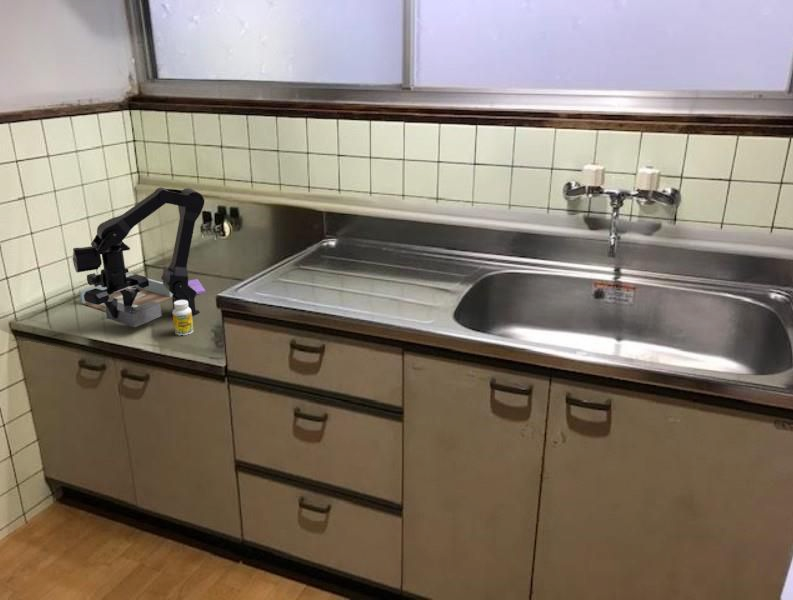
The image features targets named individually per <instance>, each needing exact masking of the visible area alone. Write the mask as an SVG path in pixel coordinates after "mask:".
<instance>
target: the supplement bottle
mask: <svg viewBox="0 0 793 600" xmlns="http://www.w3.org/2000/svg"><path fill="white" fill-rule="evenodd" d="M174 308H175V309H173V308H172V312H171V313H173V315H172V320H173V327H174V330H173V331H174V334H175V335H177V336H181V335H183V336H189V335H191V334H193V332H194V329H195V328H194V323H193V320H194V319H193V316H192V311H191V308H189V307H188V301H187V300H178V301H175V302H174ZM188 334H189V335H188Z"/></svg>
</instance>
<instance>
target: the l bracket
mask: <svg viewBox="0 0 793 600" xmlns="http://www.w3.org/2000/svg"><path fill="white" fill-rule="evenodd" d="M105 308H106V312H105V313H106V320H107V319H108V320H111V321H114V322H117V323H120V324H124V325H127V326H130V327H133V328H137V327H139V326H142V325H144V324H146V323H149V322H152V321H153V320H155V319H157V318H160V317H162V316H163V315H162V307H161V302H159V303H156V302H153V301H149V302H147V303H144V304H142V305H139V306H137V307H132V306H129V305H125V304H122V303H119V302H117V318H116V319H115V318H113V316H112V315H111V313H110V311H109V310H108V308H107V306H105Z"/></svg>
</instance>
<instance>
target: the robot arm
mask: <svg viewBox="0 0 793 600" xmlns="http://www.w3.org/2000/svg"><path fill="white" fill-rule="evenodd" d="M166 204H170V205H174V206H178V207H177V209H178V214H179V221H178V226H177V231H176V236H175V237H176V238H175V242H174V247H173V253H172V258H171V262H170V264H169V265H168V267H167V266H163V268H162V269H163V270H162V271H163V273H162V276H161V277H160V279H161V280H162V282H163V284H164V286H165V287H166V288H167V289H168V290H169V291H170V292H171V293H172V300H171V301H172V310H173V309H175V308H174V302H175V301H178V300H187V301H188V307H189V308H191V311H192V317H193V316H195V315H197V314H199V313H200V310H198V309H196V303H195V302H196V300H195V298H196V296H197V295H196V291H195V290H194V289H193V288H191V287H190V286H189V285H188V281H189V272H188V262H189V261H188V260H189V255H190V251H191V245H192V240H193V236H194V235H193V234H194V229H195V224H196V221H197V220H198V218H199V216H200V215H201V214H202V212H203V208H204V205H205V197H204V196H203V195H202V193H200V192H198V191H196V190H195V189H192V188H189V187H188V188H187V187H186V188H184V189H175V188H164V187H158V188H157V189H155V190H154V191H153V192H152V193H151V194H149V195H148V196H147V197H145V198H144V199H142V200H141V201H139V202H137V204H135V205H133V206H132V207H131V208H130V209H128V210H126V212H124V213H122V214H120V215H117V216H115V217H112V218H109V219H107V220H105V221H103V222H101V223H100V224H99V225H98V226H97V228H96V234H95V237H94V238H93V240H92V241H91V243H90V246H85V247H73V249H72V251H73V253H72V264H73V267H74V270H75V272H76V273H82V272H89V271H95V270H99V268H101V266H102V265H103V269H101V270H100V273H99V274H96V273H95V272H94V273H93V272H92V273H90V274H87V275H86V281H87V283H88V286H95V287H97V286H98V285H101V287H107V289H105V290H100V289H97V288H95V289H92V290H89V291H86V292H85V294H84V300H85V301H86V302H89V303H93V304H96V305H99V304H102V303H104V304H105V305H106V306H107V308H108V310H109V311H110V313H111V315H112V316H113V318H115V319H116V318H117V299H116V298H114V295H113V294H114V293H116V292H119V291H120V292H121V294H122V296H123V303H124V304H125V305H129V306H132V304H133V302H134V299H135V297H136V295H137V293H138V292H140V290H138V289H136V285H138V286H139V287H140V288H145V287H147V286H149V280H148V279H149V278H148V277H146V276H144V275H141V274H137V273H136V274H133V275H132V276H129V277H127V278H126V275H127V274H129V268H127V267H126V265H125V257H124V252H125V251H126V252H127V251H130V250H131V247H130V246H129V245H128V244H126V243H125V242H124V241H123V240H124V239H125V238H126V237H127V236H128V235H129V233H130V232H131V231H132V229H133V228H134V227H135V226H137V225H138V224H139V223H141V222H142V221H143V220H145V219H146V218H148V217H149V216H151V215H152V214H153V213H155V212H156V211H157V210H158V209H160V208H162V206H164V205H166ZM147 278H148V279H147ZM170 316H173V313H172V312H170Z"/></svg>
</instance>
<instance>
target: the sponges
mask: <svg viewBox="0 0 793 600" xmlns="http://www.w3.org/2000/svg"><path fill="white" fill-rule="evenodd" d="M188 285H189V286H190V287H191V288H193V289H194V290H195V291H196V294H201V293H206V289H205V288H204V287H203V285H202V283H201V282H200V281H199V279H198V278H196V279H190V280H189V279H188ZM201 295H202V294H201Z"/></svg>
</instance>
